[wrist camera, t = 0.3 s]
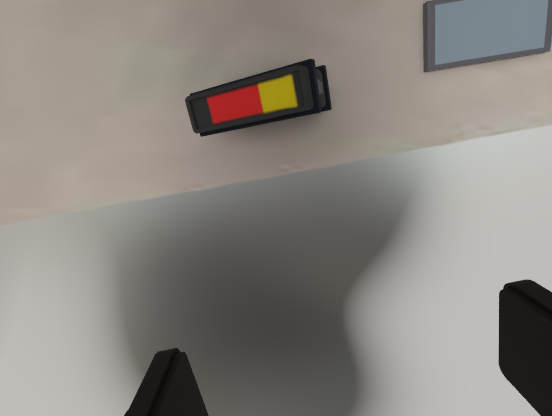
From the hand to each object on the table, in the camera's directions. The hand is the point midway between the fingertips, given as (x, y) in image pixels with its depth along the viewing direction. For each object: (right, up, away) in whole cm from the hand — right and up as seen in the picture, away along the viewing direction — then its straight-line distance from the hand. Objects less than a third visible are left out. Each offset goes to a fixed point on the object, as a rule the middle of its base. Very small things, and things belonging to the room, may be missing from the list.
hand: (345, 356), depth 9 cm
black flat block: (-3, +17, +27) cm, 32 cm away
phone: (+22, +25, +25) cm, 42 cm away
